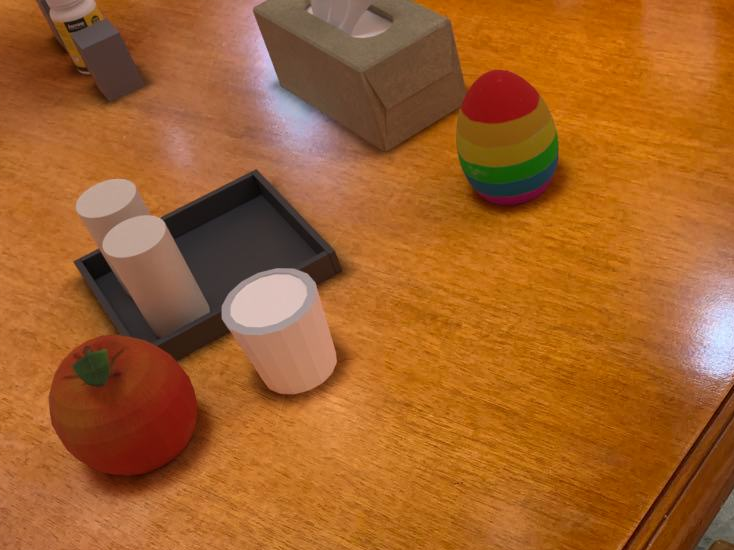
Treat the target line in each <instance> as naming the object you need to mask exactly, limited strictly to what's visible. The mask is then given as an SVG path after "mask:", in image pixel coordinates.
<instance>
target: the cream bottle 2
mask: <svg viewBox="0 0 734 550" xmlns="http://www.w3.org/2000/svg"><path fill="white" fill-rule="evenodd" d="M102 247H103V250H104V252H105V254H106V255H107V257H108V259H109V260H110V262H111V264H112V265H113V267H114V269H115V270H116V272H117V274H118V275H119V277H120V279H121V280H122V282H123V283H124V285H125V287H126V288H127V290H128V292H129V293H130V295H131V297H132V298H133V300H134V302H135V303H136V305H137V307H138V308H139V310H140V312H141V313H142V315H143V317H144V318H145V320H146V322H147V323H148V325H149V326H150V328H151V330H152V331H153V333H154V334H155V335H156V336H158V337H160V338H162V337H164V336H166V335H168V334H170V333H172V332H174V331H175V330H177V329H179V328H181V327H183V326H185V325H187V324H188V323H190V322H192V321H194V320H196V319H198V318H200V317H202V316H203V315H205V314H207V313H209V312H210V308H209V305H208V303H207V301H206V299H205V298H204V296H203V294H202V292H201V290H200V288H199V286H198V284H197V282H196V281H195V279H194V277H193V275H192V273H191V271H190V269H189V267H188V266H187V264H186V262H185V260H184V258H183V256H182V254H181V252H180V251H179V249H178V247H177V245H176V243H175V241H174V239H173V237H172V235H171V234H170V232H169V230H168V228H167V226H166V224H165V222H164V221H163V220H162V219H160V217H158V216H155V215H152V214H151V215H143V216H137V217H133V218H130V219H127V220H125V221H123V222H121V223H119V224H118V225H116V226H115V227H114V228H112V229H111V230H110V231H109V232H108V233H107V235H106V236H105V238H104V240H103V244H102Z"/></svg>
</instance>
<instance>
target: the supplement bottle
mask: <svg viewBox="0 0 734 550" xmlns="http://www.w3.org/2000/svg"><path fill="white" fill-rule="evenodd" d="M46 2H47V4H48V6H49V7H50V8H51V9H50V17H51V20H52V22H53V24H54V26H55V27H56V29H57V31H58V33H59V35H60V37H61V39H62V41H63V43H64V44H65V46H66V48H67V50H68V52H67V53H68V55H69V56H70V57H71V60H72V62H73V63H74V65H75V67H76V69H77V71H78V72H79V73H81V74H84V75H90V73H89V71H88V69H87V67H86V65H85V63H84V61H83V59H82V58H81V56H80V54H79V52H78V50H77V48H76V46H75V44H74V42H73V40H72V39H71V37H70V34H72V33H75V32H77V31H79V30H81V29H84V28H86V27H88V26H90V25H92V24H95V23H97V22H99V21H101V20H104V19H105V18H104V17H103V15H102V13H101V11H100V8H99V6H98V4H97V2H96V1H95V0H46Z"/></svg>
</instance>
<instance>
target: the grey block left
mask: <svg viewBox="0 0 734 550" xmlns="http://www.w3.org/2000/svg"><path fill="white" fill-rule="evenodd" d="M35 2H36V5H38V7H39V9H40V11H41V14H42V15H43V18H44V19H45V20H46V23H47V25H48V26H49V29H51V31H52V33H53V35H54V37H55V39H56V41H57V42H58V43H59V44H60V46H61V47H62V48H63V49H64V50H65V51H66V52H67V53H69V52H68V50H67V48H66V46H65V44H64V43H63V41H62V39H61V37H60V35H59V33H58V31H57V29H56V27H55V26H54V24H53V22H52V20H51V17H50V9H51V8H50V7H49V6H48V4H47V2H46V0H35Z"/></svg>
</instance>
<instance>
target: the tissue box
mask: <svg viewBox="0 0 734 550" xmlns="http://www.w3.org/2000/svg"><path fill="white" fill-rule="evenodd" d="M252 13H253V15H254V18H255V21H256V23H257V26H258V29H259V32H260V35H261V38H262V40H263V43H264V45H265V48H266V50H267V53H268V55H269V59H270V61H271V64H272V66H273V69H274V72H275V74H276V77H277V79H278V83H279V85H280V87H281V88H283V89H284V90H286V91H288V92H289V93H291V94H293V95H294V96H296V97H297V98H299V99H300V100H301V101H303V102H305V103H307V104H308V105H309V106H311V107H312V108H314V109H315V110H318V111H319V112H321V113H322V114H324V115H325V116H327V117H329V119H331V120H333V121H335V122H337V123H338V124H339V125H340V126H343V127H344V128H346V129H348V130H349V131H350V132H352V133H353V134H355V135H356V136H358V137H360V138H362V139H363V140H365V141H366V142H367V143H369V144H371V145H372V146H374V147H375V148H377V149H379V150H380V151H382V152H384V153H385V152H389V151H390V150H392V149H393V148H395V147H396V146H398V145H400V144H402V143H403V142H405V141H406V140H408V139H410V138H411V137H413V136H414V135H416V134H418V133H420V132H421V131H423V130H425V129H426V128H428V127H429V126H431V125H433V124H434V123H436V122H438V121H439V120H441V119H443V118H444V117H446V116H447V115H449V114H451V113H453V112H454V111H456V110H457V109H459V108H460V107H461V104H462V102H463V99H464V97H465V95H466V94H467V92H468V91H467V88H466V83H465V80H464V79H465V78H464V74H463V70H462V66H461V61H460V56H459V51H458V47H457V42H456V38H455V34H454V29H453V24H452V21H451V20H452V19H450V18H448V17H446V16H444V15H441V14H440V13H438V12H435V11H434V10H432V9H429V8H428V7H426V6H423V5H421V4H419V3H417V2H415V1H413V0H265V1H263V2H262V1H261V2H260V3H259V4H257V5H255V6H253V8H252Z"/></svg>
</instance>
